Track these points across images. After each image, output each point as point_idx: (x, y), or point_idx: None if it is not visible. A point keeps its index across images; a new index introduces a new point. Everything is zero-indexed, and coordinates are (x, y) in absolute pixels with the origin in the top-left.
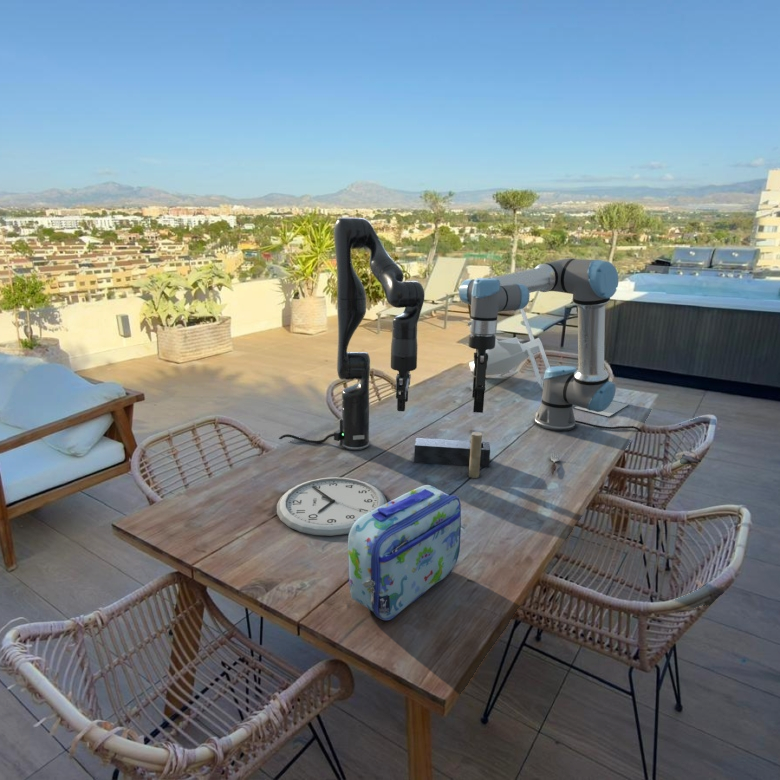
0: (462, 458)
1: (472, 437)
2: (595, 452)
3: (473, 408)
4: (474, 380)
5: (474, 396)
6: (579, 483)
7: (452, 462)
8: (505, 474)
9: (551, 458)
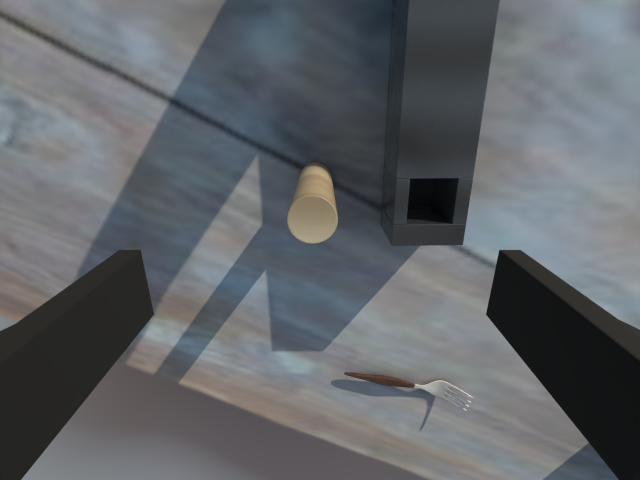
0: (389, 143)
1: (296, 197)
2: (488, 467)
3: (117, 261)
4: (626, 365)
5: (9, 330)
6: (317, 413)
7: (389, 106)
8: (339, 266)
9: (443, 382)
